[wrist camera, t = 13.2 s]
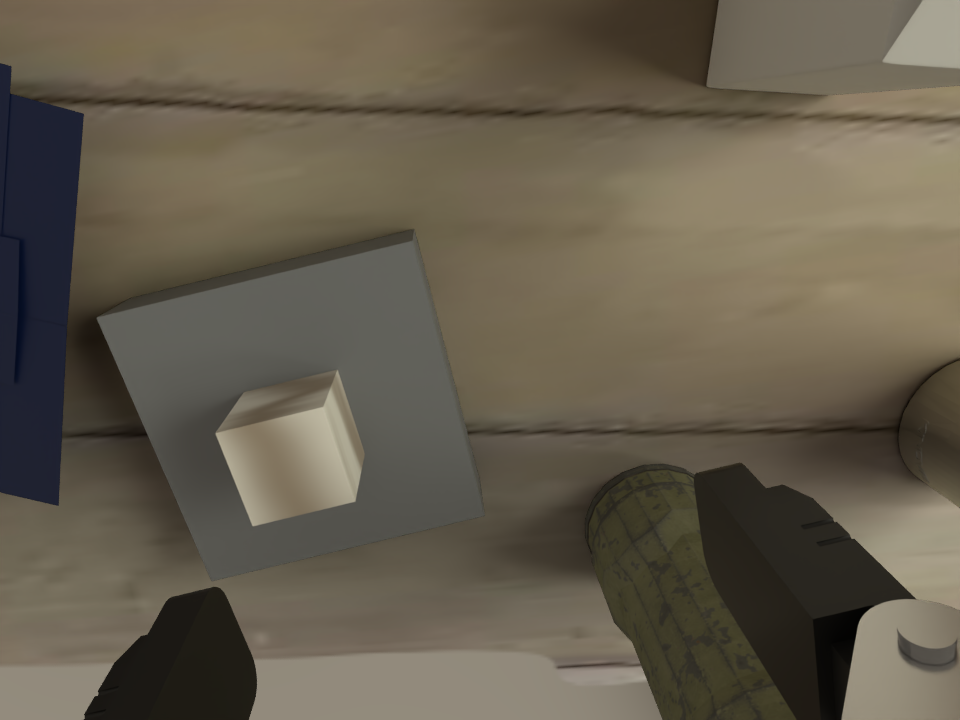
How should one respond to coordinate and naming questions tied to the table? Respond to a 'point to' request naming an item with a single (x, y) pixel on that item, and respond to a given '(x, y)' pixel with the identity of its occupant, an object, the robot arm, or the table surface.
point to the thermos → (674, 600)
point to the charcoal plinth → (293, 355)
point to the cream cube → (293, 448)
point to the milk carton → (835, 45)
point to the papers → (34, 286)
